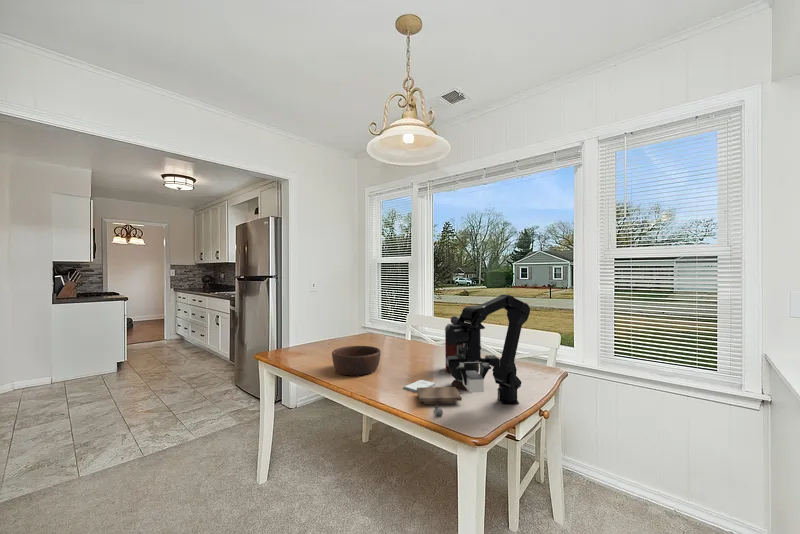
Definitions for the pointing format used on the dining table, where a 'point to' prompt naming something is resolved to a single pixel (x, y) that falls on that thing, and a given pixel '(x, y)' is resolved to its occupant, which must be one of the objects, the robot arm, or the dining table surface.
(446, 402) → the stand
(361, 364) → the wooden bowl
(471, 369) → the black orb on base
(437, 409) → the bolt
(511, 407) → the dining table surface
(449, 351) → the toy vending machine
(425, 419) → the dining table surface
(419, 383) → the external hard drive
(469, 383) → the block
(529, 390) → the dining table surface
